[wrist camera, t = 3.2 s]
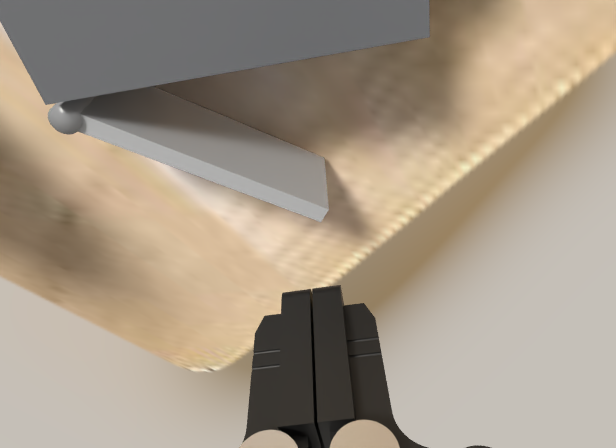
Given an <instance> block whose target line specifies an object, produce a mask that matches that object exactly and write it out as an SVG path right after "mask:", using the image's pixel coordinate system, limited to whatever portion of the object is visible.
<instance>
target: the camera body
mask: <svg viewBox="0 0 616 448" xmlns="http://www.w3.org/2000/svg"><path fill="white" fill-rule="evenodd" d="M0 22H1V23H2V25H3V27H4V29H5V31H6V33H7V34H8V36H9V38H10V40H11V42H12V44H13V45H14V47H15V49H16V51H17V53H18V55H19V57H20V58H21V60H22V62H23V64H24V66H25V68H26V69H27V71H28V73H29V75H30V77H31V79H32V80H33V82H34V84H35V86H36V88H37V90H38V91H39V93H40V95H41V97H42V99H43V101H44V103H45V104H46V105H47V104H53V103H59V102H64V101H70V100H76V99H82V98H87V97H93V96H99V95H104V94H110V93H116V92H121V91H127V90H133V89H138V88H144V87H150V86H155V85H161V84H167V83H172V82H178V81H184V80H189V79H195V78H201V77H206V76H212V75H218V74H223V73H229V72H235V71H240V70H246V69H252V68H257V67H263V66H269V65H275V64H280V63H286V62H292V61H297V60H303V59H309V58H314V57H320V56H326V55H331V54H337V53H343V52H348V51H354V50H360V49H365V48H371V47H377V46H382V45H388V44H394V43H399V42H405V41H411V40H416V39H422V38H428V37H430V28H429V0H0Z"/></svg>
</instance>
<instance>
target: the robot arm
mask: <svg viewBox="0 0 616 448" xmlns="http://www.w3.org/2000/svg"><path fill="white" fill-rule="evenodd" d="M239 448H427V447H424V446H421V445H419V444H417V443H415V442H413V441H412V440H410V439H409V438H408V437H407V436H406V435H404V433H403V432H402V431H401V430H400V429H399V427H398V426H397V424H396V422H395V420H394V418H393V414H392V409H391V405H390V398H389V393H388V387H387V381H386V376H385V370H384V365H383V359H382V355H381V349H380V343H379V337H378V332H377V326H376V321H375V317H374V316H373V315H372V313H371V312H370V311H369V310H368V308H367V307H366V305H365V304H364V303H361V304H353V305H345V306H344V303H343V297H342V291H341V285H337V286H329V287H322V288H314V289H312V291H311V289H307V290H300V291H292V292H285V293H282V305H281V314H276V315H268V316H264V318H263V320H262V322H261V323H260V325H259V327H258V329H257V331H256V333H255V340H254V356H253V363H252V375H251V386H250V397H249V409H248V420H247V429H246V435H245V438H244V441H243V443H242V444H241V446H240V447H239ZM467 448H490V447H486V446H470V447H467Z"/></svg>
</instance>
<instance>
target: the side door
mask: <svg viewBox="0 0 616 448" xmlns="http://www.w3.org/2000/svg"><path fill="white" fill-rule="evenodd" d="M48 119H49V122H50V124H51V125H52V126H53V127H54V128H55V129H56V130H57V131H59V132H61V133H64V134H74V133H76V132H77V131H78V132H81V133H83V134H86V135H89V136H91V137H94V138H97V139H99V140H102V141H105V142H107V143H110V144H113V145H115V146H118V147H121V148H124V149H126V150H129V151H132V152H134V153H137V154H140V155H142V156H145V157H148V158H150V159H153V160H156V161H158V162H161V163H164V164H166V165H169V166H172V167H174V168H177V169H180V170H182V171H185V172H188V173H190V174H193V175H196V176H199V177H201V178H204V179H207V180H209V181H212V182H215V183H217V184H220V185H223V186H225V187H228V188H231V189H233V190H236V191H239V192H241V193H244V194H247V195H249V196H252V197H255V198H257V199H260V200H263V201H265V202H268V203H271V204H273V205H276V206H279V207H282V208H284V209H287V210H290V211H292V212H295V213H298V214H300V215H303V216H306V217H308V218H311V219H314V220H316V221H319V222H322V220H323V218H324V217H325V215H326V213H327V212H328V210H329V206H328V194H327V182H326V170H325V158H324V157H321V156H319V155H317V154H314V153H312V152H309V151H307V150H305V149H302V148H300V147H297V146H295V145H293V144H290V143H288V142H285V141H283V140H281V139H278V138H276V137H273V136H271V135H269V134H266V133H264V132H261V131H259V130H257V129H254V128H252V127H249V126H247V125H245V124H242V123H240V122H237V121H235V120H232V119H230V118H228V117H225V116H223V115H220V114H218V113H216V112H213V111H211V110H208V109H206V108H204V107H201V106H199V105H196V104H194V103H192V102H189V101H187V100H184V99H182V98H180V97H177V96H175V95H172V94H170V93H168V92H165V91H163V90H160V89H158V88H156V87H153V86H150V87H144V88H138V89H133V90H127V91H121V92H116V93H110V94H104V95H99V96H93V97H87V98H82V99H76V100H70V101H64V102H59V103H56V104H55V105H54V106H53V107H52V108H51V109H50V110H49V112H48Z"/></svg>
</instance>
